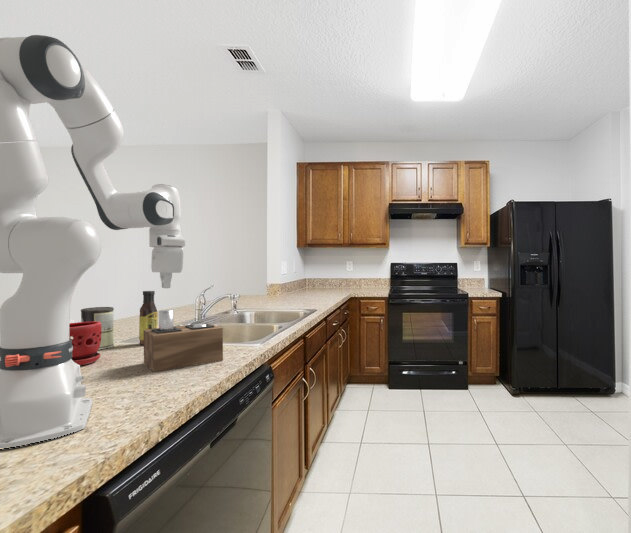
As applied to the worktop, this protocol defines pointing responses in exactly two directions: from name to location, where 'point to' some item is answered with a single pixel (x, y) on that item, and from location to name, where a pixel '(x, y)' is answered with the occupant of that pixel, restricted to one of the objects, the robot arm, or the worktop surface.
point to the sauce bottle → (147, 315)
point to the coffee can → (106, 321)
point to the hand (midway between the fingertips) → (166, 288)
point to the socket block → (182, 346)
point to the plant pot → (85, 341)
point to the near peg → (166, 320)
